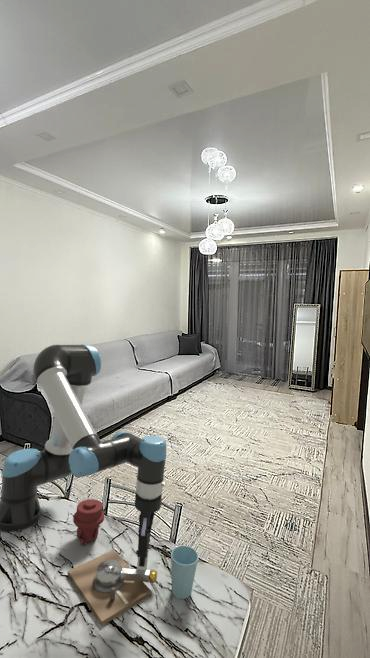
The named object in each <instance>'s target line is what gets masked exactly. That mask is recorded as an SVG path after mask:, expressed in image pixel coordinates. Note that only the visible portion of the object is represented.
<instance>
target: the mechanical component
mask: <svg viewBox="0 0 370 658" xmlns="http://www.w3.org/2000/svg"><path fill="white" fill-rule="evenodd" d="M72 518H73V519H72V522H73V524H74V525H75V526H76V527H77V529H76V537H77V539H78V540H80V545H82V546H85V545H86V544H87V543H90V541H92V540H96V539H97V538H98V535H99V528H100V525H102V523H104V520H105V512H104V510H103V502H101V500H98V499H91V498H90V499H84V500H82V501H80V502H79V503H78V504H77V505H76V511H75V512H74V514H73V517H72Z"/></svg>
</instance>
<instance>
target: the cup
mask: <svg viewBox="0 0 370 658" xmlns="http://www.w3.org/2000/svg"><path fill="white" fill-rule="evenodd" d="M170 559H171V560H170V562H171V564H170V565H171V566H170V567H171V568H170V569H171V593H172V595H173V596H174V597H175V598H177V599H179V600H180V599H181V600H186V599H189V597H190V596H191V594H192V591H193V585H194V581H195V575H196V571H197V565H198V561H199V553H198V552H197V550H196V549H195V548H193V547H191V546H188V545H177V546H176V547H174V548H173V549H172V551H171V553H170Z"/></svg>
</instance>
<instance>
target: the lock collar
mask: <svg viewBox="0 0 370 658" xmlns="http://www.w3.org/2000/svg"><path fill="white" fill-rule="evenodd" d="M157 579H158V572H157V570H155V569H151V570H150V569H147V570H139V569H137V568H131V569H128V568H122V565H121V564H120V563H119V562H118V561H116V560H106V561H103V562H102V563H100V564H99V565H98V567H97V574H96V582H97V584H98V585H99V586H101V587H103V588H112V587H114V586H116V585H118V584H119V583H120V581H121V580H127V581H140V582H144V583H152V584H155V583H156V582H157Z"/></svg>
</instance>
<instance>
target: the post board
mask: <svg viewBox="0 0 370 658" xmlns="http://www.w3.org/2000/svg"><path fill="white" fill-rule="evenodd" d="M106 560H116V561H118V562H119V563H120V564H121V565H122V568H128V569H132V568H131V567H130V566H129V565H128V563H127V562H126V561H125V560H124V559H123V558H122V557H121V556H120V555H119V553H117V551H115V549H112V550H110V551H108V552H105V553H103V554H101V555H99V556H97V557H95V558H92V559H90V560H88V561H86V562H84V563H82V564H80V565H78V566H75V567H73V568H71V569H69V570H67V576H68V578H69V579H70V582H71V583H72V584H73V586H74V587H75V589H76V590H77V591H78V593H79V594H80V596H81V598H82V599H83V601H84V602H85V604H86V605H87V607H88V609H90V611H91V613H92V614H93V615H94V616H95V619H96V620H97V621H98V624H99V625H100V626H101V627H104V626H105V625H106V624H108V623H110V622H111V621H113V620H114V619H116V618H117V617H118V616H120V615H122V614H124V613H126V612H127V611H128V610H130V609H132V608H133V607H135V606H136V605H138V604H140V603H141V602H143V601H144V600H145V599H147V598H149V597H150V596H152V590H151V589H150V588H149V587H148V586H147V585H146V582H140V581H127V580H121V581H120V583H119V584H118V585H116V586H114V587H112V588H103V587H101V586H99V585H98V584H97V582H96V574H97V567H98V565H99V564H100V563H102V562H103V561H106Z"/></svg>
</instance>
